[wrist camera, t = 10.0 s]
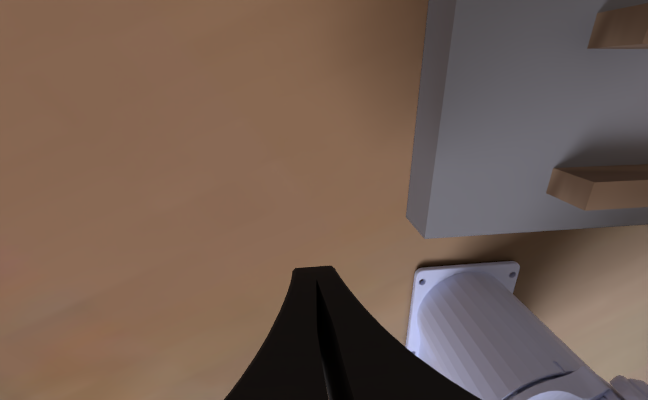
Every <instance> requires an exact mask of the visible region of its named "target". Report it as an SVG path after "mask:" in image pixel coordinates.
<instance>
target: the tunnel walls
mask: <svg viewBox="0 0 648 400" xmlns="http://www.w3.org/2000/svg"><path fill="white" fill-rule="evenodd" d="M587 49H648V3H645V4H640V5H635V6H630V7H625V8H620V9H615V10H610V11H605V12H600V13H597V16H596V19H595V23H594V26H593V30H592V33H591V37H590V40H589V44H588V47H587ZM546 193H547V194H549V195H551V196H553V197H556V198H558V199H560V200H562V201H564V202H567V203H569V204H571V205H573V206H575V207H578V208H580V209H582V210H584V211H588V210H606V209H623V208H640V207H648V164H640V165H616V166H591V167H567V168H553V170H552V174H551V177H550V181H549V184H548V188H547V191H546Z"/></svg>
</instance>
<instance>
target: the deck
mask: <svg viewBox="0 0 648 400" xmlns="http://www.w3.org/2000/svg"><path fill="white" fill-rule="evenodd" d="M645 3H648V0H429V3H428V12H427V22H426V31H425V41H424V50H423V60H422V69H421V79H420V88H419V98H418V107H417V117H416V127H415V136H414V146H413V155H412V165H411V174H410V184H409V193H408V203H407V212H406V218H407V219H408V220H409V221H410V222H411V223H412V225H413V226H414V227H415V228H416V229H417V230H418V232H419V233H420V234H421V235H422V236H423V237H424V239H429V238H444V237H460V236H475V235H490V234H506V233H521V232H537V231H552V230H568V229H583V228H599V227H614V226H630V225H645V224H648V207H640V208H623V209H606V210H588V211H584V210H582V209H580V208H578V207H575V206H573V205H571V204H569V203H567V202H564V201H562V200H560V199H558V198H556V197H553V196H551V195H549V194H547V193H546V191H547V188H548V184H549V181H550V177H551V174H552V170H553V168H567V167H591V166H616V165H640V164H648V49H587V47H588V44H589V40H590V37H591V33H592V30H593V26H594V23H595V19H596V16H597V13H600V12H605V11H610V10H615V9H620V8H625V7H630V6H635V5H640V4H645Z"/></svg>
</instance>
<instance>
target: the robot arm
mask: <svg viewBox="0 0 648 400" xmlns="http://www.w3.org/2000/svg"><path fill="white" fill-rule="evenodd" d="M519 270H520V265H519V264H518V263H517V262H515V261H504V262H491V263H477V264H464V265H451V266H437V267H424V268H419V269H418V270H416V272H415V275H414V283H413V291H412V299H411V307H410V315H409V323H408V331H407V339H406V347H405V346H403V345H402V344H401V343H400V342H399V341H398V340H397V339H395V338H394V337H393V336H392V335H391V334H390V333H389V332H388V331H387V330H386V329H385V328H384V327H382V326H381V325H380V324H379V323H378V322H377V320H376V319H375V318H374V317H373V316H372V315H371V314H370V313H369V312H368V311H367V310H366V309H365V308H364V307H363V305H362V304H361V303H360V302H359V301H358V300H357V298H356V297H355V296H354V295H353V294H352V292H351V291H350V290H349V289H348V287H347V286H346V285H345V283H344V282H343V280H342V279H341V278H340V276H339V275H338V273H337V272H336V270H335V268H333V267H332V266H319V267H305V268H295V269H294V270H293V271H292V279H291V283H290V286H289V289H288V292H287V295H286V298H285V300H284V302H283V305H282V307H281V310H280V312H279V314H278V316H277V318H276V320H275V322H274V324H273V326H272V328H271V330H270V332H269V334H268V336H267V338H266V339H265V341H264V343H263V345H262V346H261V348H260V350H259V351H258V353H257V354H256V356H255V358H254V359H253V361H252V362H251V364H250V365H249V366H248V368H247V369H246V371H245V372H244V374H243V375H242V377H241V378H240V380H239V381H238V382H237V384H236V385H235V386H234V388H233V389H232V390H231V392H230V393H229V394H228V395H227V397H226V398H225V399H224V400H328V396H329V400H648V385H647V384H646V383H645V382H644V381H641V380H636V379H627V378H625V377H624V376H620V375H619V376H616V377H615V378H614V379H612V380H611V381H610V383H611V385H612V386H611V385H610V384H609V383H607V382H606V381H605V380H604V379H602V378H601V377H600V376H598V375H597V374H596V373H595V372H594V371H593V370H592V369H591V368H590V367H588V366H587V365H586V364H585V363H584V362H583V361H582V360H581V359H580V358H579V357H578V356H577V355H576V354H575V353H574V352H573V351H572V350H571V349H570V348H569V347H568V346H567V345H566V344H565V343H563V342H562V341H561V340H560V339H559V338H558V337H557V336H556V335H555V334H554V333H553V332H552V331H551V330H550V329H549V328H548V327H547V326H546V325H545V324H544V323H543V322H542V321H541V320H540V319H538V318H537V317H536V316H535V315H534V314H533V313H532V312H531V311H530V310H529V309H528V308H527V307H526V306H525V305H524V304H523V303H522V302H521V301H520V300H519V299H518V298H517V297H516V296H515V295H513V291H514V288H515V284H516V280H517V277H518V273H519ZM511 272H512V273H511ZM510 273H511V274H510ZM421 279H423V281H421V282H419V281H420V280H421ZM325 382H326V383H325ZM326 387H327V389H326ZM327 392H328V394H327Z"/></svg>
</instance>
